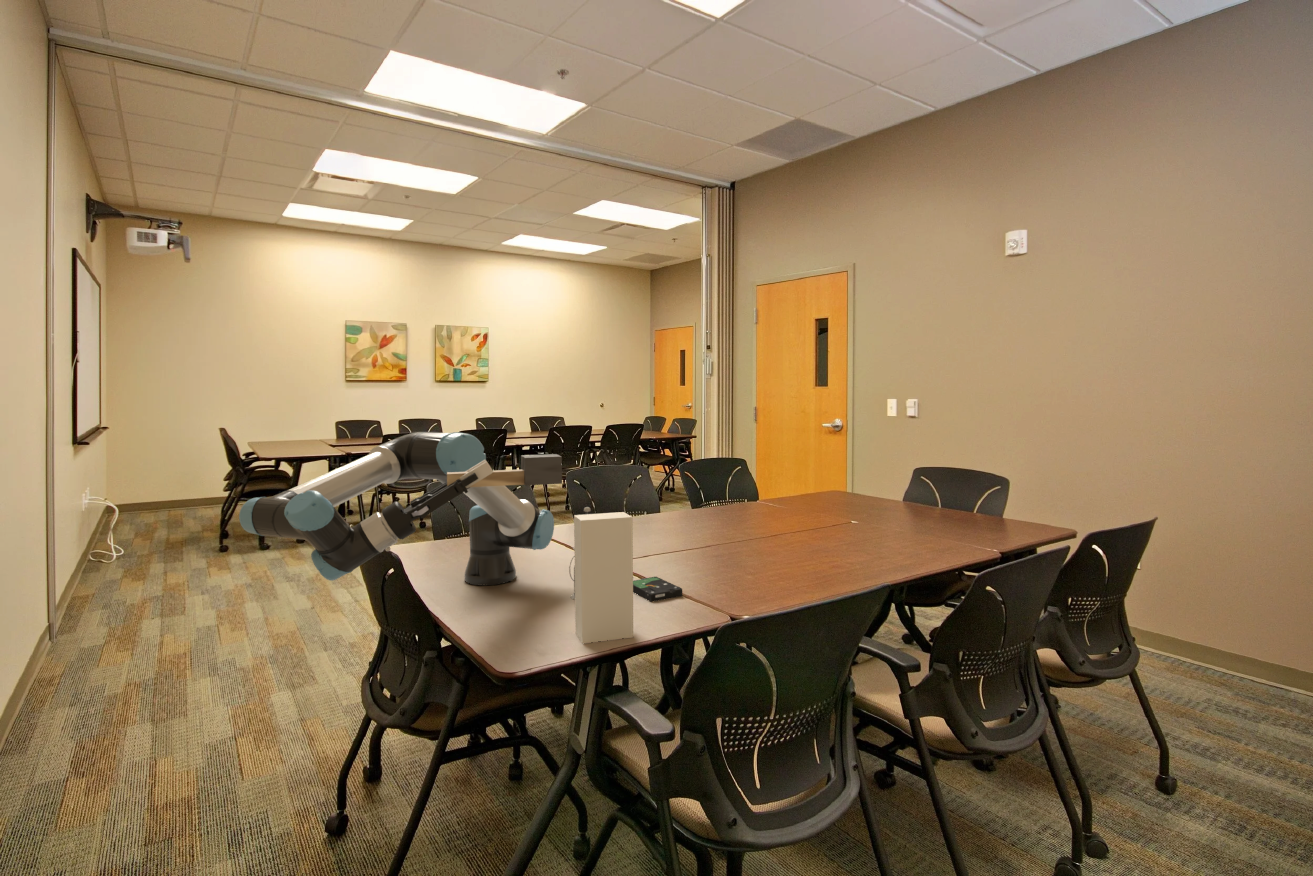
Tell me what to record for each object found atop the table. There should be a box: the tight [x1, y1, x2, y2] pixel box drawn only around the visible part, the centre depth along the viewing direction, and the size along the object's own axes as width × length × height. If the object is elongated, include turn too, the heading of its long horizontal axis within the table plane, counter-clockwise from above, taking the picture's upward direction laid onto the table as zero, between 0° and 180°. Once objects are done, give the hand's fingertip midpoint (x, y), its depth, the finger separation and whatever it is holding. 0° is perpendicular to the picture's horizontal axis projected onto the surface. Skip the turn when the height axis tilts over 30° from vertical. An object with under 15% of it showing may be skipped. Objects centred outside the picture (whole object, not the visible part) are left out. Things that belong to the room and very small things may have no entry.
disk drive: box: [633, 576, 683, 603], centre depth 192 cm, size 10×3×15 cm
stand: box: [573, 511, 634, 645], centre depth 158 cm, size 7×12×28 cm, turn 109°
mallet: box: [447, 453, 563, 487], centre depth 149 cm, size 6×24×6 cm, turn 109°
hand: (489, 465), depth 147 cm, fingers closed on mallet, 3 cm apart
